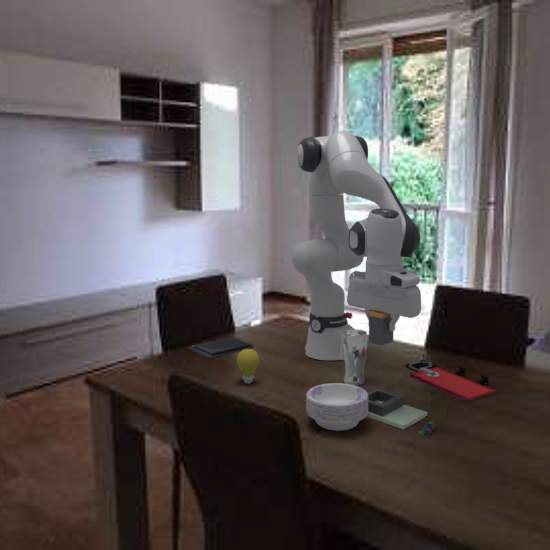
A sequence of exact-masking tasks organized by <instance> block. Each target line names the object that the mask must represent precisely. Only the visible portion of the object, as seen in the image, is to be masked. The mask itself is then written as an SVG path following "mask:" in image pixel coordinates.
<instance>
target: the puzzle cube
mask: <svg viewBox="0 0 550 550" xmlns="http://www.w3.org/2000/svg"><path fill="white" fill-rule="evenodd" d="M435 428H436V427H435V423H434V422H432V421H429V420H428V421H427V422H426V423H425V425H424V426H423V427H421V429H420V430H418V431H417V434H418V435H424V436H425V435H428V436H429V435H431V434H432V432H434V431H435Z"/></svg>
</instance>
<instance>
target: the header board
mask: <svg viewBox="0 0 550 550" xmlns="http://www.w3.org/2000/svg"><path fill="white" fill-rule="evenodd" d="M366 392H367V393H368V397H369V398H368V415H367V416H366V417H367V418H370V419H372V420H376V421H379V422H381V423H384V424H387V425H390V426H393V427H395V428H399V429H402V430H404V431H405V429H407V428H409V427H411V426H412V425H414V424H416V423H418V422H419V421H420V422H421V420H423V419H424V418H426V416H427V417H428V412H427V411H425V410H421V409H418V408H416V407H412V406H410V405H407V404H404V396H403V395H399V394H396V393H393V392H390V391H387V390H384V389H379V388H377V387H375V388H374V389H372V390H371V389H370V390H369V391H366Z"/></svg>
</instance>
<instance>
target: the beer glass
mask: <svg viewBox="0 0 550 550" xmlns="http://www.w3.org/2000/svg"><path fill="white" fill-rule="evenodd" d="M367 353H368V334H367V331H366V330H363V329H357V328H356V329H355V328H354V329H350V330H346V331H344V339H343V354H344V360H343V361H344V365H345V366H344V367H345V371H344V377H343V382H344V384H350V385H354V386H361V385H363V384H365V382H366V381H365V375H364V372H365V370H364V368H365V363H366V359H367Z"/></svg>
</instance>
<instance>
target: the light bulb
mask: <svg viewBox="0 0 550 550" xmlns="http://www.w3.org/2000/svg"><path fill="white" fill-rule="evenodd" d="M236 364H237V366H238V368H239V370H240V371H241V372H242V380H243V382H244V383H245V384H252V383H253V380H254V378H255V375H254V372H255V371H256V370H257V368H258V366H259V364H260V356H259V354H258V352H257V351H256V350H254V349H253V348H252V349H244V350H242V351H239V353H238V354H237V357H236ZM251 382H252V383H251Z"/></svg>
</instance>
